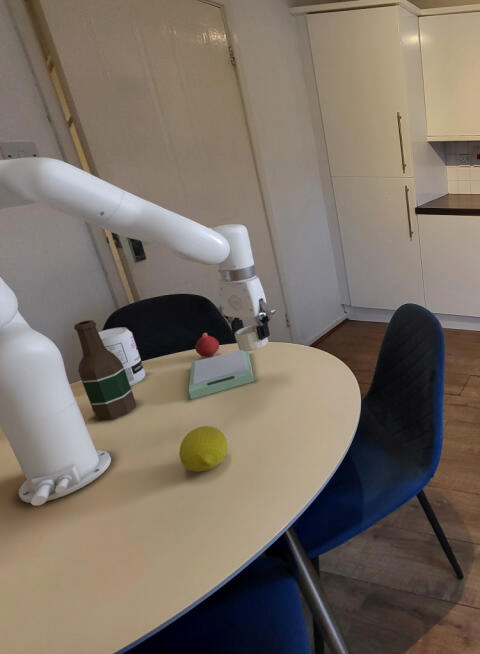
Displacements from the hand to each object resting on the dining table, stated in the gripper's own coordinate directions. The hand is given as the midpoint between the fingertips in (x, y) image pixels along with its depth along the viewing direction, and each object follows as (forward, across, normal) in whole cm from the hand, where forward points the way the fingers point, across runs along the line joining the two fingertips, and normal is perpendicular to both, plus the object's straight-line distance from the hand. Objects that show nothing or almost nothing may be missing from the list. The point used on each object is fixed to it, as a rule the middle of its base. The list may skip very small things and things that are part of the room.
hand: (251, 336), depth 110 cm
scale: (+13, -13, 0) cm, 19 cm away
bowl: (+3, 0, 0) cm, 3 cm away
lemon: (+14, +13, -29) cm, 35 cm away
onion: (+14, -26, +9) cm, 30 cm away
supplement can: (+14, -37, -7) cm, 40 cm away
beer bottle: (+14, -26, -18) cm, 34 cm away
